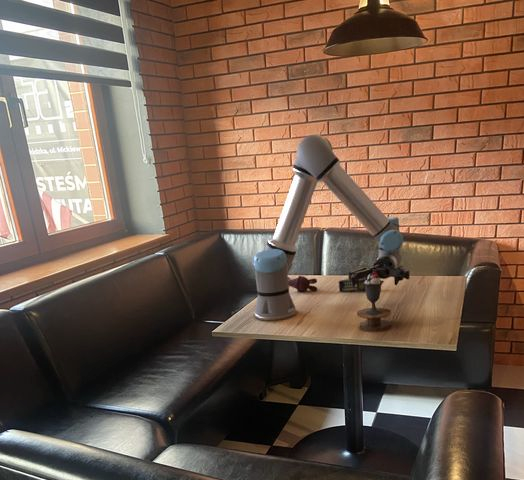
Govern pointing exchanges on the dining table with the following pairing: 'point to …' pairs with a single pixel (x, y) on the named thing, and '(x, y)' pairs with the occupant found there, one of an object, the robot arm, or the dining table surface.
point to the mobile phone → (347, 284)
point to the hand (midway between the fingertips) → (374, 281)
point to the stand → (374, 320)
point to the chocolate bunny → (302, 284)
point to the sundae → (373, 290)
